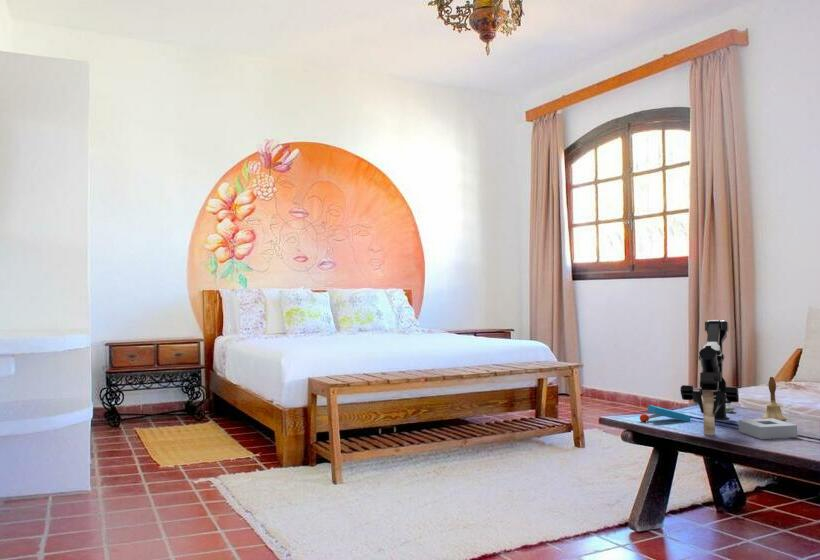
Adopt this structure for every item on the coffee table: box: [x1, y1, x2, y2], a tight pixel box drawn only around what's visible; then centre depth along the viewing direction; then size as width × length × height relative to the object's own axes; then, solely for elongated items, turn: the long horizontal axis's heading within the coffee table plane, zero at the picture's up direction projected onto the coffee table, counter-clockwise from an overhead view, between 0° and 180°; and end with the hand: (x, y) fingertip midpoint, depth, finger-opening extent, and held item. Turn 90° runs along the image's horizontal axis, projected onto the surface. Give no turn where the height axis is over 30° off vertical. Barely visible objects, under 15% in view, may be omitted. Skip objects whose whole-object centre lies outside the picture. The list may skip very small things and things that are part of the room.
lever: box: [639, 404, 692, 422], centre depth 267 cm, size 7×7×18 cm
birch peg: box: [702, 390, 716, 436], centre depth 241 cm, size 4×4×15 cm
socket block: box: [737, 418, 798, 440], centre depth 238 cm, size 13×13×4 cm
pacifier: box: [726, 403, 736, 413], centre depth 283 cm, size 7×6×6 cm
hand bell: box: [761, 376, 787, 421], centre depth 265 cm, size 8×8×16 cm
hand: (708, 413), depth 240 cm, fingers closed on birch peg, 4 cm apart
